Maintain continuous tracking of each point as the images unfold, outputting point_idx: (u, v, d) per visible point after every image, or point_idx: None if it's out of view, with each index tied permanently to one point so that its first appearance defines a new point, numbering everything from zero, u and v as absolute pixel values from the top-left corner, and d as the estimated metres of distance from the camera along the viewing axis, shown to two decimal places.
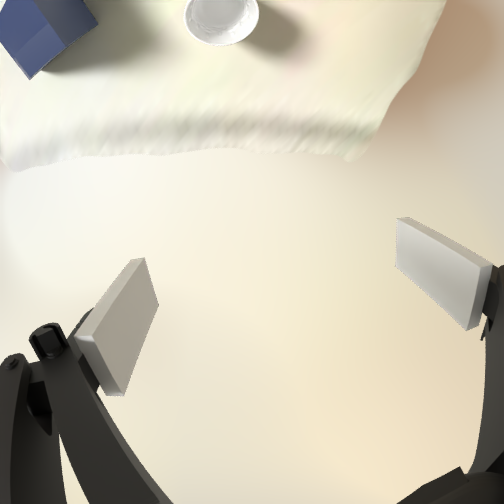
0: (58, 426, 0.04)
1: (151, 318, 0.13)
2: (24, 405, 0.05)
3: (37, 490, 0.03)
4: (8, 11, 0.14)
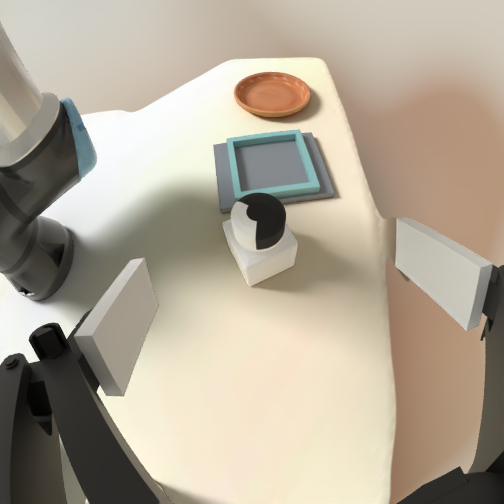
0: (58, 426, 0.04)
1: (151, 318, 0.13)
2: (24, 405, 0.05)
3: (37, 490, 0.03)
4: None
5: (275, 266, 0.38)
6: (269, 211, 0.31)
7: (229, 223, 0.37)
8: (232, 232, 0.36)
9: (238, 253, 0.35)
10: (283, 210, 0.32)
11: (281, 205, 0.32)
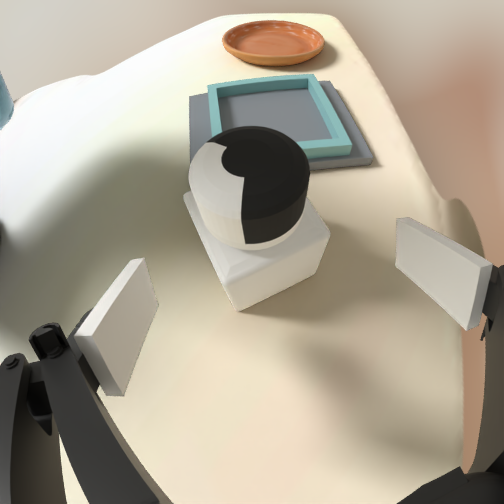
0: (58, 426, 0.04)
1: (151, 318, 0.13)
2: (24, 405, 0.05)
3: (37, 490, 0.03)
4: None
5: (283, 276, 0.20)
6: (274, 156, 0.13)
7: None
8: (200, 211, 0.18)
9: (210, 252, 0.17)
10: (304, 157, 0.14)
11: (298, 148, 0.14)
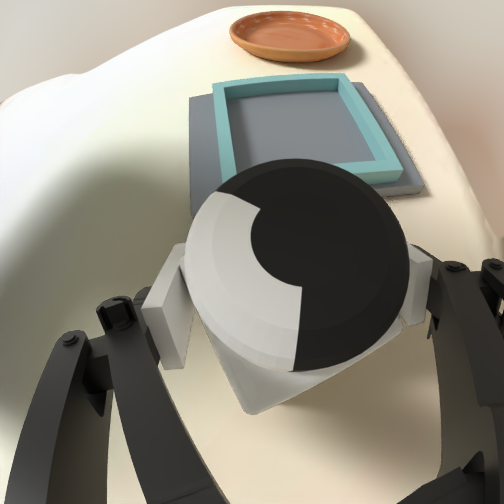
0: (117, 398, 0.05)
1: None
2: (79, 385, 0.06)
3: (78, 474, 0.04)
4: None
5: None
6: (355, 235, 0.07)
7: None
8: None
9: (224, 364, 0.10)
10: (400, 231, 0.07)
11: (390, 212, 0.07)
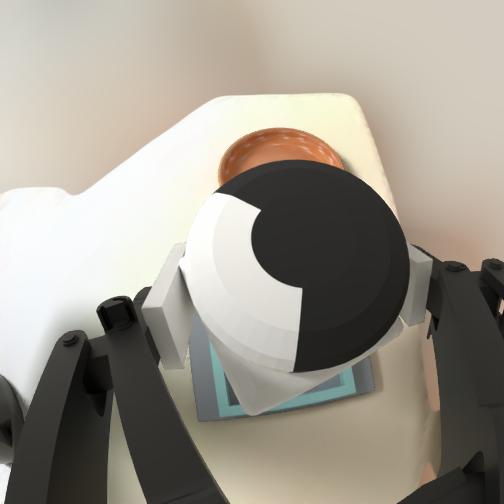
0: (117, 398, 0.05)
1: None
2: (79, 385, 0.06)
3: (78, 474, 0.04)
4: None
5: None
6: (356, 236, 0.07)
7: None
8: None
9: (224, 364, 0.10)
10: (401, 232, 0.07)
11: (391, 213, 0.07)
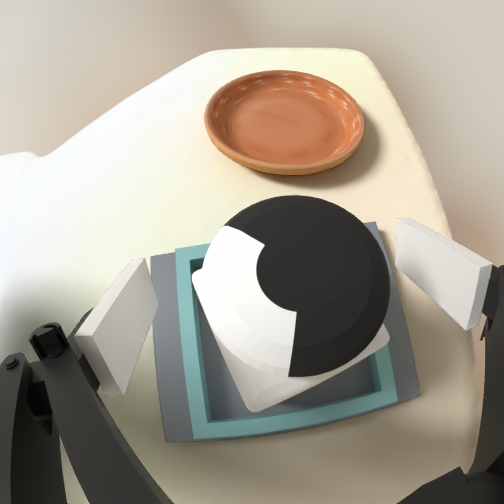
0: (58, 426, 0.05)
1: (151, 318, 0.13)
2: (24, 405, 0.05)
3: (37, 490, 0.03)
4: None
5: None
6: (343, 269, 0.08)
7: None
8: None
9: (231, 367, 0.12)
10: (383, 263, 0.09)
11: (376, 246, 0.09)
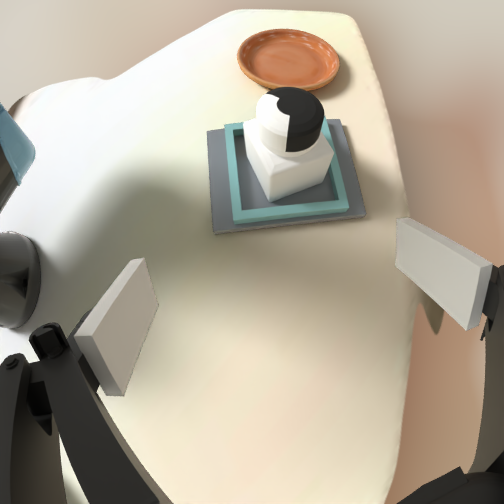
0: (58, 426, 0.04)
1: (151, 318, 0.13)
2: (24, 405, 0.05)
3: (37, 490, 0.03)
4: None
5: (303, 178, 0.30)
6: (305, 106, 0.23)
7: (251, 123, 0.28)
8: (255, 133, 0.28)
9: (261, 157, 0.27)
10: (321, 108, 0.23)
11: (318, 102, 0.23)
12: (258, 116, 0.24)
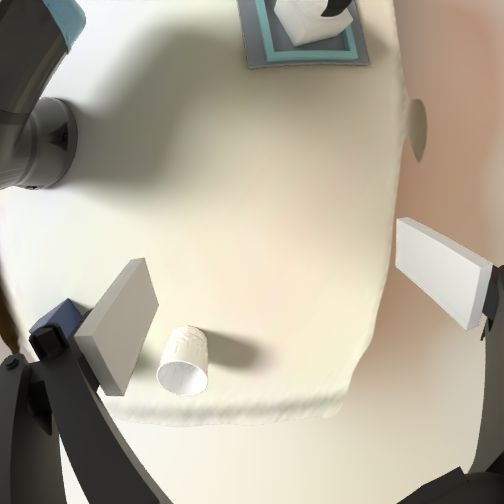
0: (58, 426, 0.04)
1: (151, 318, 0.13)
2: (24, 405, 0.05)
3: (37, 490, 0.03)
4: None
5: (325, 33, 0.30)
6: None
7: None
8: None
9: (298, 16, 0.26)
10: None
11: None
12: None
